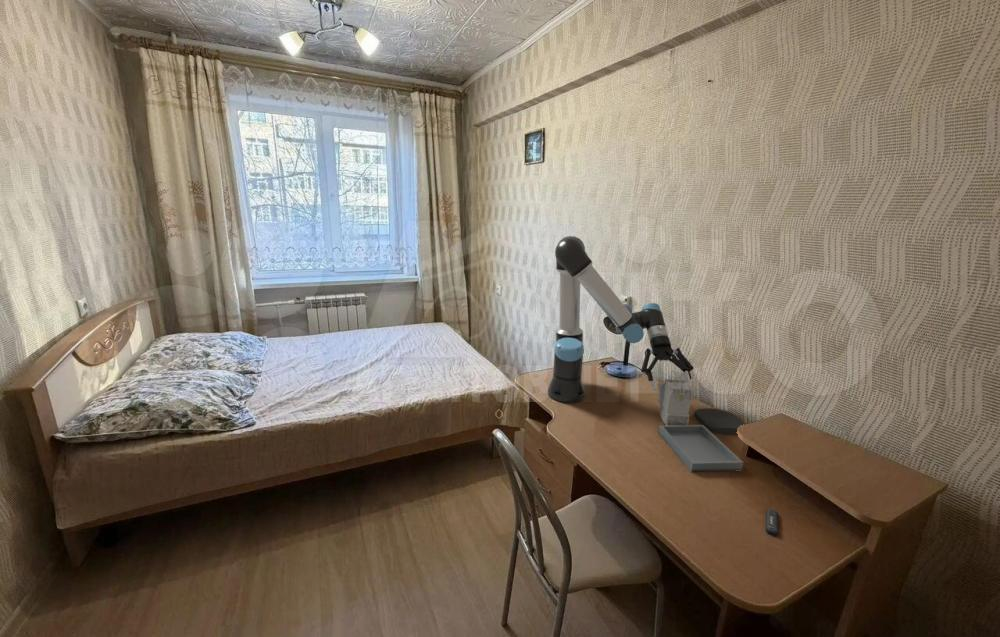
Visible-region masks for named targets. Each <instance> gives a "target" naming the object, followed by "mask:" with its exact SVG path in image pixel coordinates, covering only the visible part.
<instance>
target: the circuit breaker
mask: <svg viewBox="0 0 1000 637" xmlns="http://www.w3.org/2000/svg"><path fill="white" fill-rule="evenodd" d="M693 391H694V389H693V386H692V387H691V386H690V385H689V384H688V383H687V381H685V380H684V379H683V380H682V379H664V383H660V384H659V392H658V399H657V402H658V403H659V405H660V411H659V417H660V418H661V420H662V422H663V423H664V425H689V420H690V415H689V413H690V406H691V401H693V396H694V395H693Z"/></svg>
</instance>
